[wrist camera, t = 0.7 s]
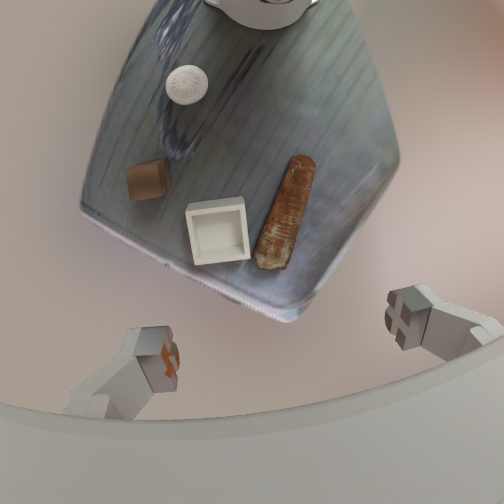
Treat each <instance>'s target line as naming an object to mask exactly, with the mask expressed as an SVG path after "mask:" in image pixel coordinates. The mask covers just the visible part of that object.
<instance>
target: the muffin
mask: <svg viewBox="0 0 504 504" xmlns="http://www.w3.org/2000/svg"><path fill="white" fill-rule="evenodd" d="M207 88H208V79H207V76H206V74H205V73H204V72H203V71H202V70H201V69H200V68H198V67H196V66H193V65H184V66H181V67H178V68H177V69H175V70H174V71H172V72H171V74H170V75H169V76H168V78H167V81H166V92H167V94H168V96H169V97H170V98H171V99H172V100H173V101H174V102H176V103H178V104H181V105H188V104H192V103H195V102H197V101H198V100H200V99H201V98H202V97H203V96H204V95H205V93H206V91H207Z"/></svg>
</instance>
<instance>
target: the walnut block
mask: <svg viewBox="0 0 504 504" xmlns="http://www.w3.org/2000/svg"><path fill="white" fill-rule="evenodd" d="M125 172H126V177H127V183H128V188H129V194H130V199H131V202H134V201H140V200H146V199H151V198H158V197H163V195H164V194H165V193H166V192H167V191H168V189H169V188H170V187H171V186H172V184H171V177H170V171H169V164H168V158H163V159H157V160H152V161H147V162H141V163H139V164H136V165H134V166H132V167H130V168H128V169H126V170H125Z"/></svg>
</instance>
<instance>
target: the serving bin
mask: <svg viewBox="0 0 504 504" xmlns="http://www.w3.org/2000/svg"><path fill="white" fill-rule="evenodd" d="M185 214H186V220H187V226H188V232H189V237H190V243H191V248H192V254H193V259H194V264H195V265H203V264H211V263H219V262H227V261H235V260H243V259H251V258H250V248H249V239H248V229H247V220H246V210H245V203H244V199H243V196H241V197H232V198H224V199H216V200H208V201H201V202H194V203H189V204H188V206H187V208H186V211H185Z"/></svg>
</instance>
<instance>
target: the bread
mask: <svg viewBox="0 0 504 504" xmlns="http://www.w3.org/2000/svg"><path fill="white" fill-rule="evenodd" d="M315 169H316V165H315V163H314V161H313V160H312V159H311V158H310V157H307V156H304V155H296V156H293V157H292V159H291V161H290V164H289V167H288V169H287V172H286V174H285V177H284V179H283V181H282V183H281V186H280V189H279V191H278V193H277V196H276V198H275V201H274V203H273V205H272V208H271V210H270V213H269V216H268V219H267V221H266V223H265V225H264V227H263V229H262V232H261V234H260V237H259V239H258V241H257V244H256V246H255V249H254V251H253V254H252V257H253V258H254V259H255V260H256V261H257V266H258V268H260V269H268V270H279V269H282V270H285V269H286V268H287V265H288V263H289V261H290V258H291V254H292V252H293V248H294V245H295V242H296V237H297V234H298V230H299V227H300V224H301V221H302V217H303V214H304V211H305V207H306V204H307V200H308V196H309V191H310V188H311V185H312V181H313V176H314V172H315Z"/></svg>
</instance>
